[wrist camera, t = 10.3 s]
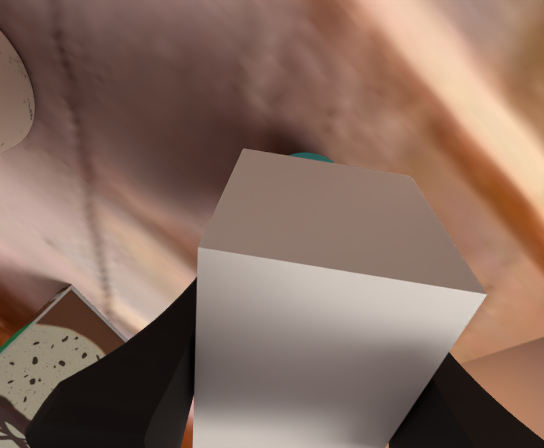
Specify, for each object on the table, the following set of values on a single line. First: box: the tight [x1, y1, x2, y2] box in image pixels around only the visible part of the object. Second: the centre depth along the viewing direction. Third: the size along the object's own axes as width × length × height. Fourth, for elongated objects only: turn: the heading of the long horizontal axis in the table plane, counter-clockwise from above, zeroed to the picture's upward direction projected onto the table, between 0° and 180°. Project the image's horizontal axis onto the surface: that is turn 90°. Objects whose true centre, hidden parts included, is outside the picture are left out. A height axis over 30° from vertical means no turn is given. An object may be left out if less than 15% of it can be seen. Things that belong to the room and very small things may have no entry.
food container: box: [0, 285, 128, 448], centre depth 26 cm, size 12×6×10 cm, turn 25°
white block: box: [193, 148, 487, 448], centre depth 12 cm, size 6×10×6 cm, turn 172°
